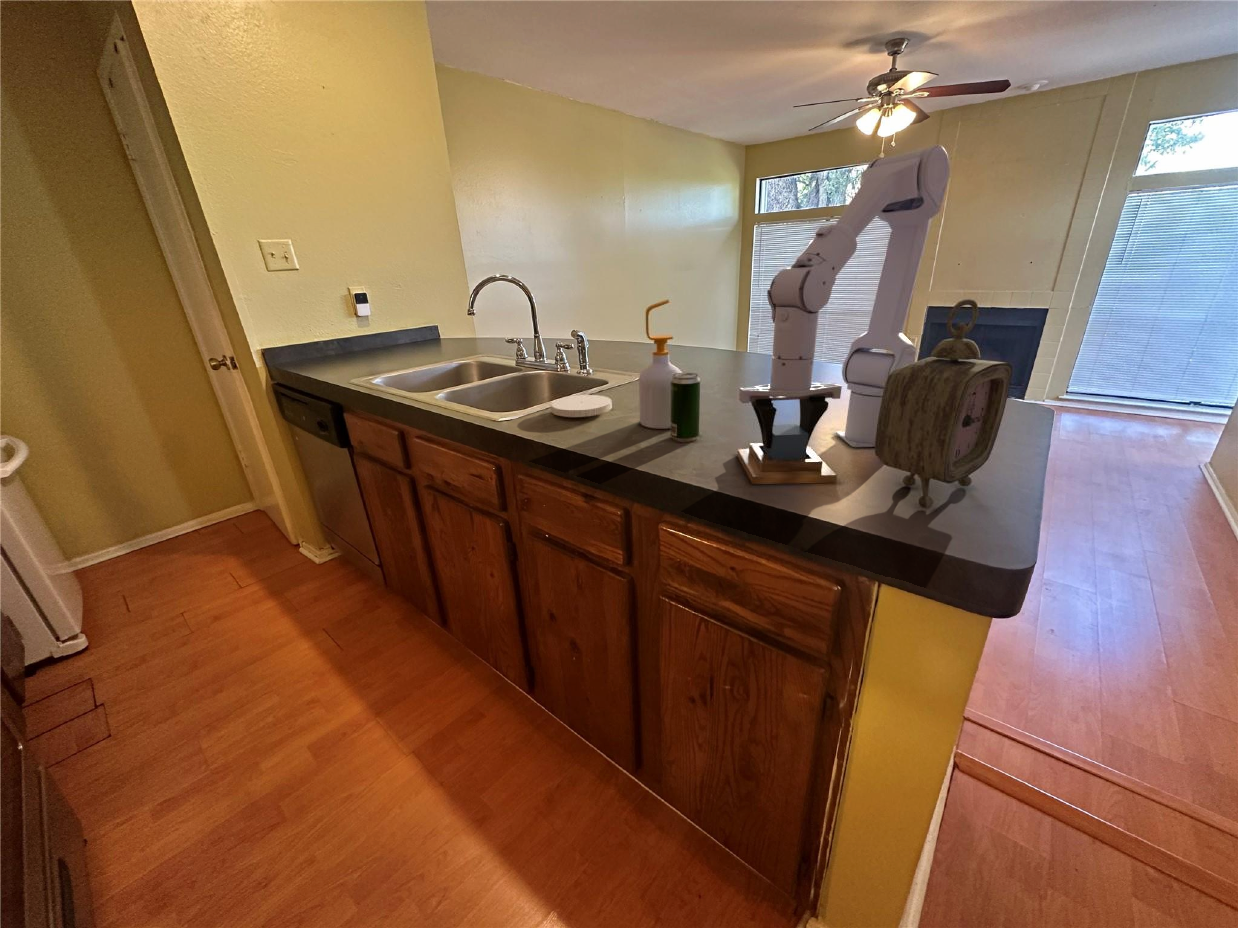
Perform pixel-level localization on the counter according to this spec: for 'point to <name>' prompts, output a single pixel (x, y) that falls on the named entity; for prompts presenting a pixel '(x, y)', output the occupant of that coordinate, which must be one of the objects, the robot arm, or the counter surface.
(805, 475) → the base pad
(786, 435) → the dark gray block
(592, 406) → the plastic lid
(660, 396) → the soap bottle
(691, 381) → the beer can
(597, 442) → the counter surface
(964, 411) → the tabletop clock
